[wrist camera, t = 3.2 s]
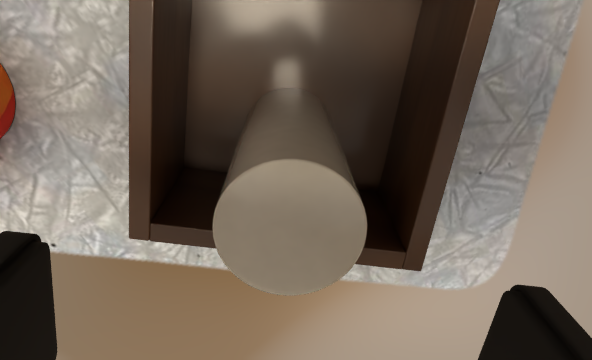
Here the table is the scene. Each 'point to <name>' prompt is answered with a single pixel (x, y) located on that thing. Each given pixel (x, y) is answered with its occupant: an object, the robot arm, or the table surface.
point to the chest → (314, 79)
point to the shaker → (289, 199)
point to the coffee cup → (6, 102)
